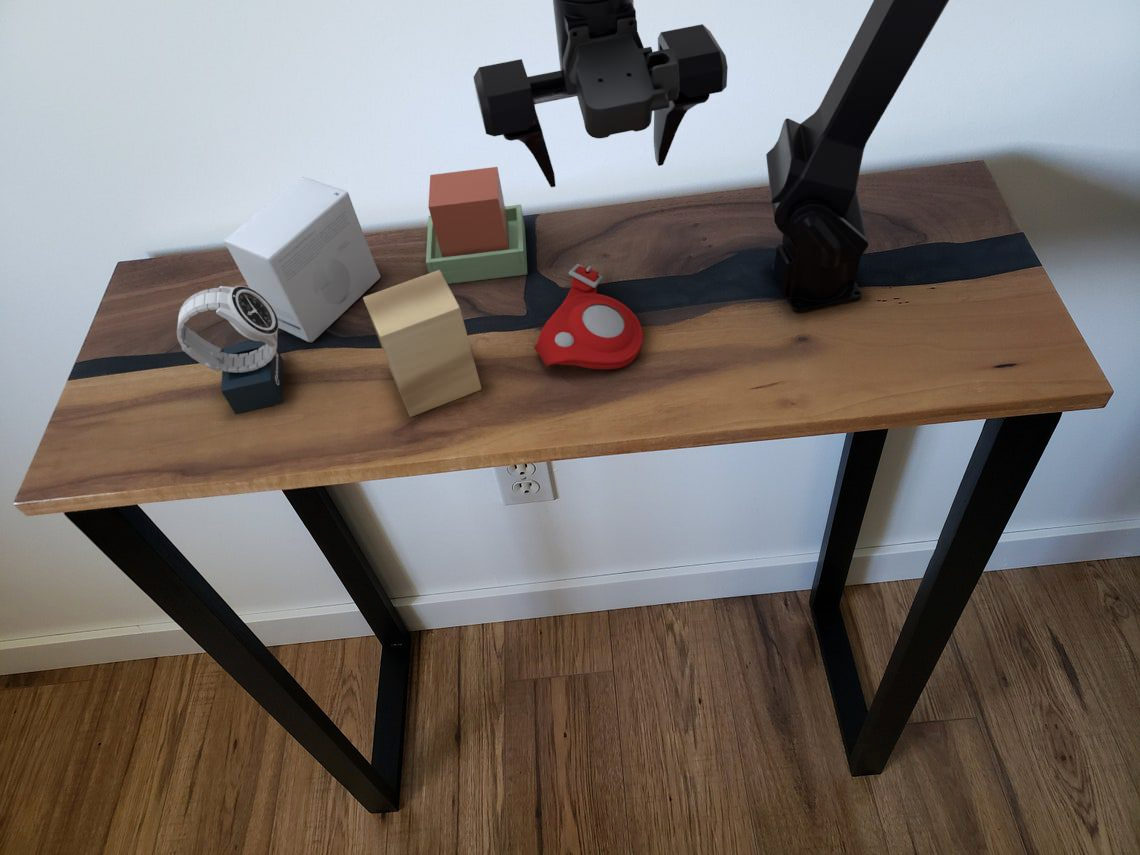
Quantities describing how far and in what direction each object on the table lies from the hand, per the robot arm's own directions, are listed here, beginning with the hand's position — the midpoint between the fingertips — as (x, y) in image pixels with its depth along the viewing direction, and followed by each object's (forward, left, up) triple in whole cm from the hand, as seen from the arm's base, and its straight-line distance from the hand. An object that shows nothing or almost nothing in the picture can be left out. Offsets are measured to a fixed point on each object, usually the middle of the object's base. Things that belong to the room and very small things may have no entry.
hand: (605, 173), depth 73 cm
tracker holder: (+3, +5, -13) cm, 14 cm away
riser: (+18, +7, -13) cm, 23 cm away
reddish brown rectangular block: (+12, -9, -12) cm, 19 cm away
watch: (+34, +3, -13) cm, 37 cm away
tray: (+12, -9, -13) cm, 20 cm away
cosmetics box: (+28, -7, -13) cm, 32 cm away
